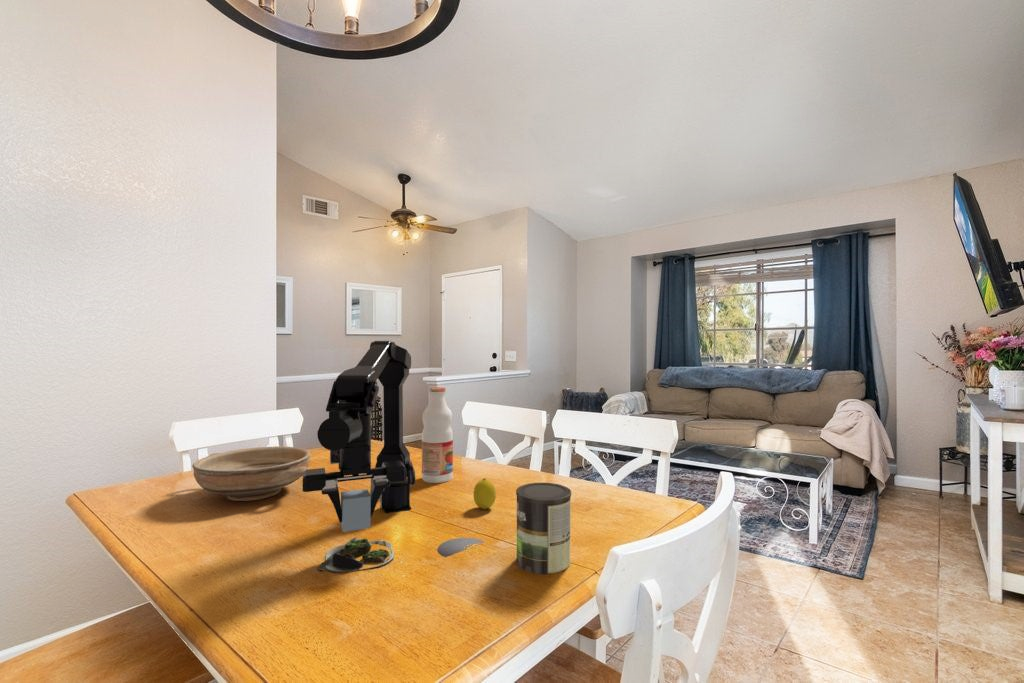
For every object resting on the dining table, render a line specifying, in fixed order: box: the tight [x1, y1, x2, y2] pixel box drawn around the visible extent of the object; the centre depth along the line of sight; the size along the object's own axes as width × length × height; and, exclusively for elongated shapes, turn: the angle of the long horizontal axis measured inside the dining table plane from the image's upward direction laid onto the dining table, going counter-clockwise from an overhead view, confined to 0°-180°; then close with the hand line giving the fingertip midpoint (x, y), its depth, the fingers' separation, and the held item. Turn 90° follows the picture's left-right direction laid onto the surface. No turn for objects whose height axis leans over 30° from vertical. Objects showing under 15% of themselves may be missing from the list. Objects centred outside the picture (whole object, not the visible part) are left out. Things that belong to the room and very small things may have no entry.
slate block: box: [340, 488, 372, 533], centre depth 92 cm, size 5×5×6 cm
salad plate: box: [317, 536, 395, 574], centre depth 92 cm, size 15×14×4 cm
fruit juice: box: [421, 386, 454, 484], centre depth 145 cm, size 9×9×28 cm
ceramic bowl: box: [192, 445, 311, 502], centre depth 132 cm, size 37×29×10 cm
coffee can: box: [515, 482, 572, 575], centre depth 89 cm, size 10×10×14 cm
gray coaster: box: [437, 537, 485, 558], centre depth 95 cm, size 10×10×1 cm
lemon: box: [473, 477, 497, 510], centre depth 118 cm, size 6×6×8 cm
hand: (355, 519), depth 92 cm, fingers closed on slate block, 5 cm apart
